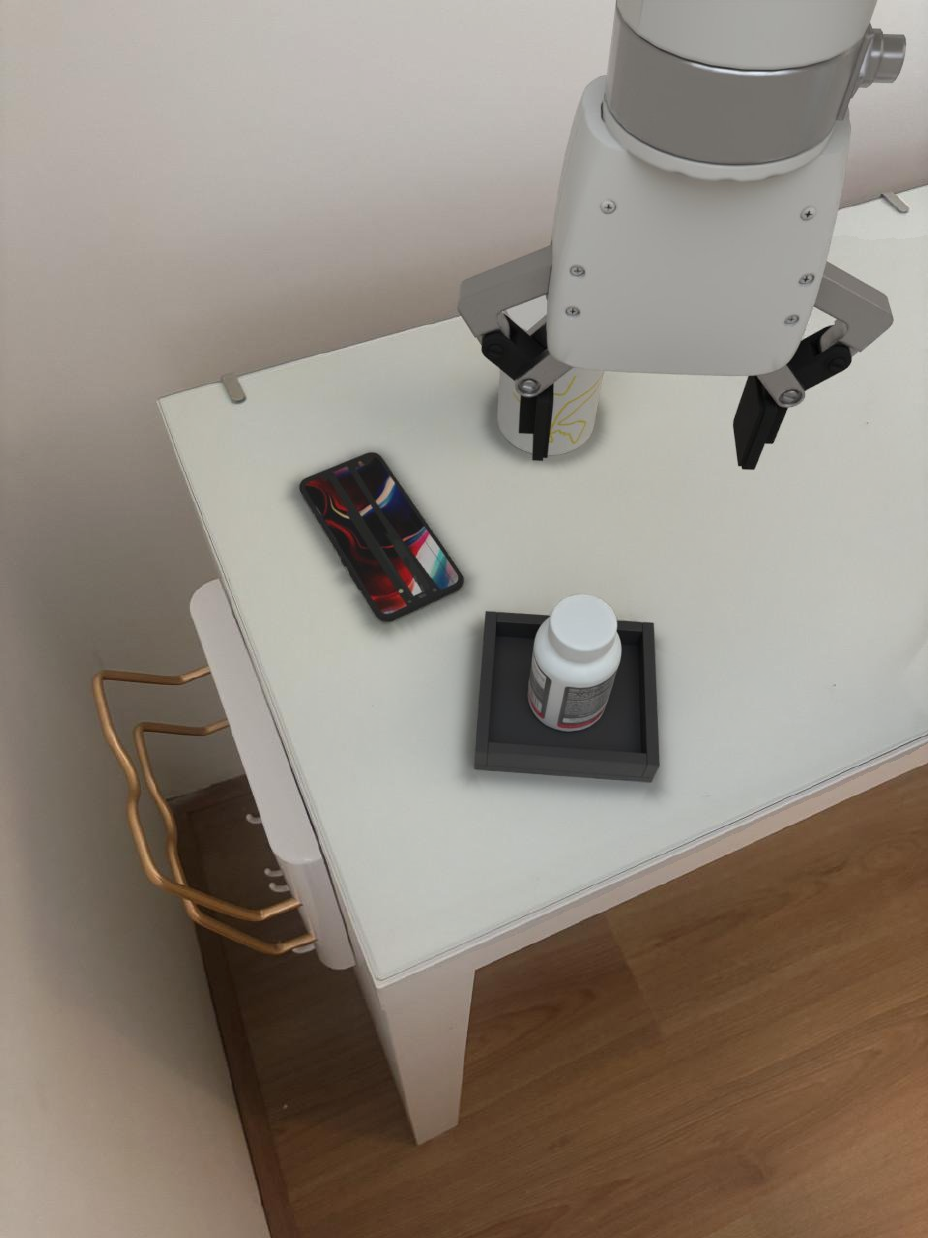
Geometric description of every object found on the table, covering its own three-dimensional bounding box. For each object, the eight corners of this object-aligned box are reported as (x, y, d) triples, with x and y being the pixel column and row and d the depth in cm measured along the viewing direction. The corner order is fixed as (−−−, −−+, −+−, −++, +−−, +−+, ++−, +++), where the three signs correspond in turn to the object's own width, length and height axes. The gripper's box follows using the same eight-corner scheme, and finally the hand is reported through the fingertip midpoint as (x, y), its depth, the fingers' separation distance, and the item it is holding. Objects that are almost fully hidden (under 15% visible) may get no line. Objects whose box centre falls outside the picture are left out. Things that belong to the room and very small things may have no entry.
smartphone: (376, 448, 74) (468, 582, 67) (376, 453, 74) (468, 587, 67) (294, 481, 72) (380, 623, 65) (295, 487, 72) (380, 628, 66)
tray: (646, 642, 65) (654, 622, 63) (651, 782, 60) (659, 766, 57) (484, 631, 66) (485, 610, 63) (474, 769, 60) (474, 752, 58)
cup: (513, 463, 74) (523, 348, 64) (485, 393, 78) (490, 274, 68) (608, 444, 75) (632, 327, 65) (575, 376, 79) (593, 256, 69)
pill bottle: (616, 679, 63) (641, 602, 54) (591, 746, 60) (613, 675, 52) (543, 652, 64) (556, 572, 56) (514, 716, 61) (524, 642, 53)
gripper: (974, 18, 31) (812, 394, 45) (462, 5, 31) (464, 380, 46) (1034, 146, 27) (836, 513, 41) (447, 128, 28) (454, 496, 42)
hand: (640, 443), depth 44 cm, fingers open, 9 cm apart
